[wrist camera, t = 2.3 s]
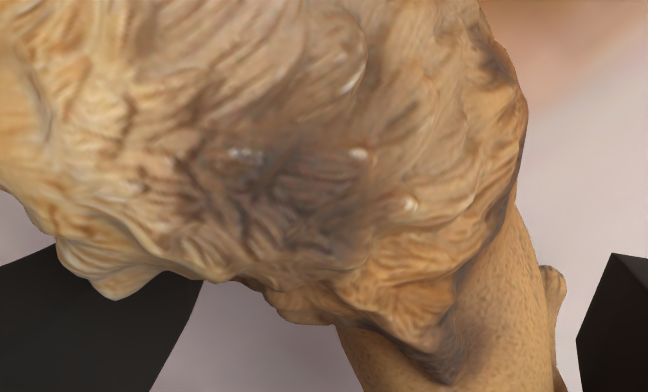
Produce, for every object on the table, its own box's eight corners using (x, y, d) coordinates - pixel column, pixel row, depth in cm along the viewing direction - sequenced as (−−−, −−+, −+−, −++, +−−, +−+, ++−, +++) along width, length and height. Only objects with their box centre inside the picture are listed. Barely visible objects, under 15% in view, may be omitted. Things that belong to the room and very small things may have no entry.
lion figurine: (153, -36, 12) (-367, 75, 4) (389, -199, 11) (255, -524, 3) (464, 464, 17) (494, 979, 9) (667, 410, 15) (941, 996, 7)
